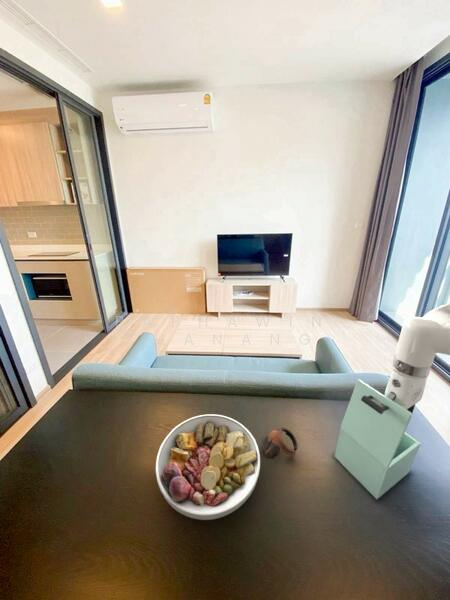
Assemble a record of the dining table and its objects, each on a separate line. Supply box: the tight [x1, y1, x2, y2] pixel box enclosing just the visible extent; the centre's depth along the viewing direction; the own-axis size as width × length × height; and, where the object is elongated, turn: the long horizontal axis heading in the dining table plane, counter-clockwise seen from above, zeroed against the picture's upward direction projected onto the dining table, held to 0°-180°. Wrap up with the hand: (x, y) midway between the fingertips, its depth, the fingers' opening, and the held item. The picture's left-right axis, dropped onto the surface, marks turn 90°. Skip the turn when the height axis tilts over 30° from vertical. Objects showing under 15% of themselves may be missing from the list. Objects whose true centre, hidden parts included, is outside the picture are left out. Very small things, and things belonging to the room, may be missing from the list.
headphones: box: [262, 427, 299, 462], centre depth 76 cm, size 12×10×8 cm
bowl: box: [155, 413, 261, 521], centre depth 72 cm, size 30×30×8 cm
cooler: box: [334, 428, 422, 500], centre depth 72 cm, size 16×14×12 cm
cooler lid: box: [340, 379, 414, 468], centre depth 63 cm, size 16×14×5 cm
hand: (395, 416), depth 68 cm, fingers open, 9 cm apart
